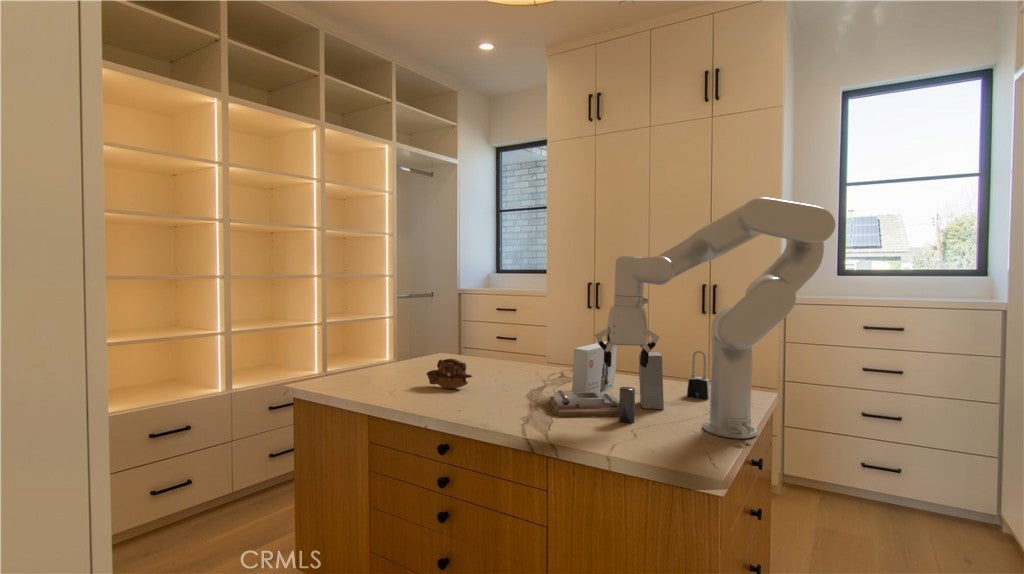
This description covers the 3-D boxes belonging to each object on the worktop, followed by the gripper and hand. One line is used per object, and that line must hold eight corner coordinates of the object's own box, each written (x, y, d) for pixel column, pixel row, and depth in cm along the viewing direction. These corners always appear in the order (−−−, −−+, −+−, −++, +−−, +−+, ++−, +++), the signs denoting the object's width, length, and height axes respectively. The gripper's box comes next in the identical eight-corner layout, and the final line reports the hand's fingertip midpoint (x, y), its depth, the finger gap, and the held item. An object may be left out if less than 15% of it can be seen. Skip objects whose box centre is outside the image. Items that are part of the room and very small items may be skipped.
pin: (636, 423, 135) (637, 390, 134) (621, 424, 134) (622, 390, 134) (631, 419, 139) (632, 386, 138) (617, 419, 138) (617, 386, 138)
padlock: (710, 397, 163) (711, 350, 162) (708, 400, 159) (709, 352, 159) (688, 394, 166) (689, 348, 166) (686, 397, 163) (687, 350, 162)
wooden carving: (423, 388, 171) (423, 358, 171) (429, 385, 176) (430, 356, 175) (469, 392, 167) (469, 361, 166) (474, 388, 171) (474, 359, 171)
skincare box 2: (664, 410, 147) (665, 356, 147) (638, 408, 149) (639, 355, 148) (661, 402, 156) (662, 351, 155) (637, 401, 157) (638, 350, 156)
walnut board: (626, 416, 142) (626, 410, 141) (558, 417, 140) (559, 411, 140) (610, 400, 157) (610, 395, 157) (549, 401, 156) (549, 396, 156)
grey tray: (621, 408, 145) (621, 397, 145) (558, 409, 143) (558, 398, 143) (612, 400, 154) (612, 389, 154) (553, 400, 152) (553, 390, 152)
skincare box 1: (586, 401, 157) (587, 350, 156) (571, 398, 160) (572, 348, 160) (616, 388, 174) (617, 342, 173) (602, 385, 177) (602, 340, 177)
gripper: (654, 302, 140) (652, 363, 140) (592, 300, 138) (590, 363, 139) (665, 304, 132) (662, 369, 133) (600, 302, 131) (597, 368, 131)
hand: (625, 366), depth 136 cm, fingers open, 9 cm apart
